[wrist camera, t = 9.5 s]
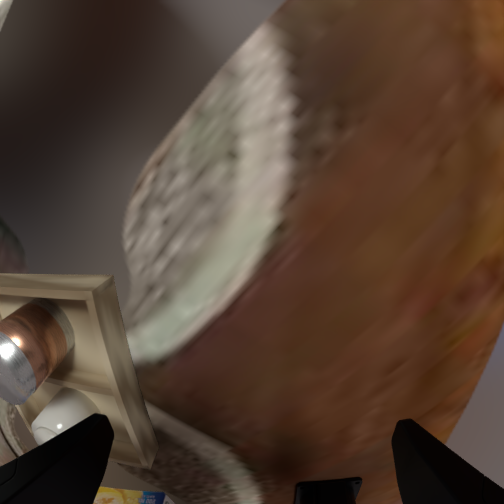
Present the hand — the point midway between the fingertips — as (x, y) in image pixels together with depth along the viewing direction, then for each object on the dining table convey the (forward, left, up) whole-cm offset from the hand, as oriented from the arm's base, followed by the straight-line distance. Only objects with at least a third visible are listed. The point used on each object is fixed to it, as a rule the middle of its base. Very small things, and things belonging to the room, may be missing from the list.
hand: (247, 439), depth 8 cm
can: (-3, +17, -11) cm, 21 cm away
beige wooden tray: (-8, +17, -12) cm, 22 cm away
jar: (-12, +17, -11) cm, 24 cm away
